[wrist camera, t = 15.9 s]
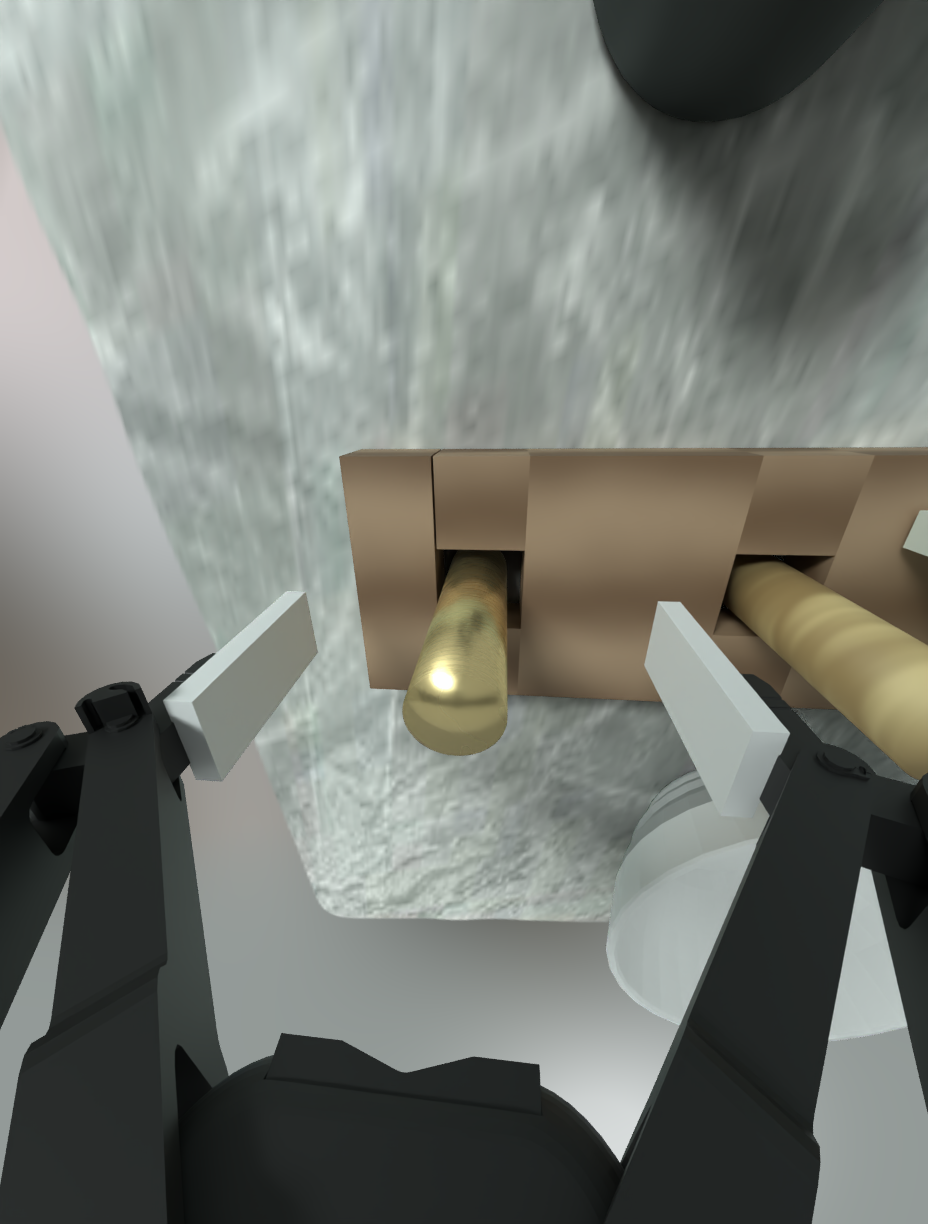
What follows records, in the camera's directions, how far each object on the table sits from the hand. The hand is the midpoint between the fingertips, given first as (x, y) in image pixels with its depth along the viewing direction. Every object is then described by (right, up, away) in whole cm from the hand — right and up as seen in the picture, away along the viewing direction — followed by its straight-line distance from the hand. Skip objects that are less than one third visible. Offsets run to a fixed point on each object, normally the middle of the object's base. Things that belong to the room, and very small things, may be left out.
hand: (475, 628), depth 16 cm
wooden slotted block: (+10, +3, +6) cm, 12 cm away
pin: (0, +3, +7) cm, 7 cm away
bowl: (+18, -14, +13) cm, 26 cm away
